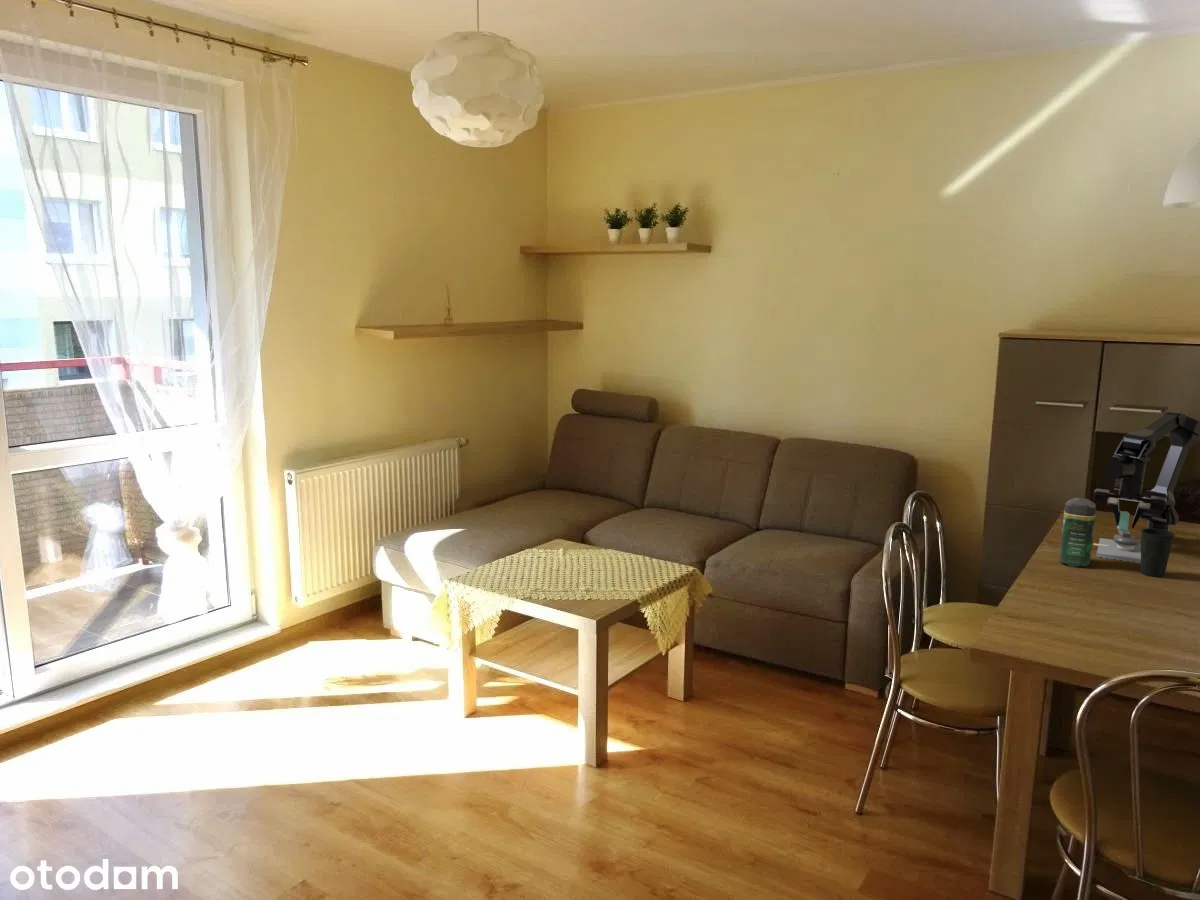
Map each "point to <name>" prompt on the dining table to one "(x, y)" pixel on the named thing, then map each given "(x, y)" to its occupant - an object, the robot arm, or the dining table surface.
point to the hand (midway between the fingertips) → (1125, 526)
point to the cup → (1155, 551)
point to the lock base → (1118, 551)
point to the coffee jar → (1077, 532)
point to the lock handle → (1125, 531)
